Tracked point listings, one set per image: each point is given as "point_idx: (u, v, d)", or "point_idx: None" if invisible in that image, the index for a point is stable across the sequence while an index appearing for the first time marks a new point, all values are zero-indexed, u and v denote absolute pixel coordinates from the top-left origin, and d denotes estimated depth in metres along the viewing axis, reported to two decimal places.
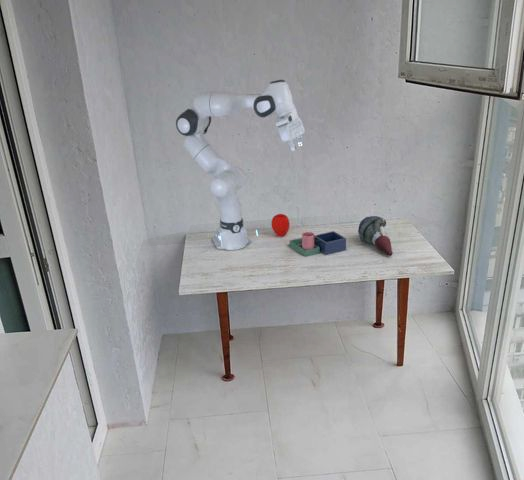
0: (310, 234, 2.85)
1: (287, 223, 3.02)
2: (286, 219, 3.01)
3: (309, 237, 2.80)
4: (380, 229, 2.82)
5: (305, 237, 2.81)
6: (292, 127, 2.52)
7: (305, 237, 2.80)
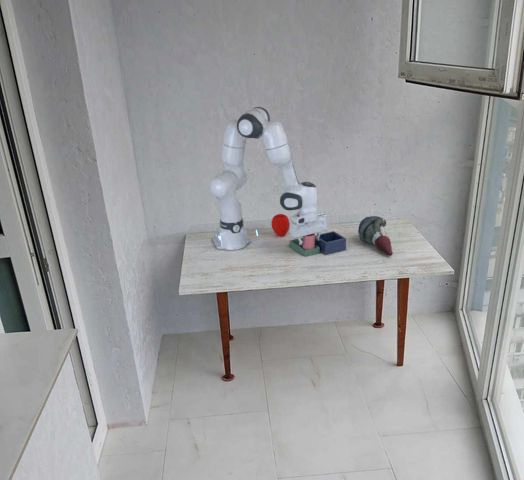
0: (310, 234, 2.85)
1: (287, 223, 3.02)
2: (286, 219, 3.01)
3: (310, 237, 2.80)
4: (380, 229, 2.82)
5: (306, 237, 2.81)
6: (306, 226, 2.77)
7: (305, 237, 2.80)
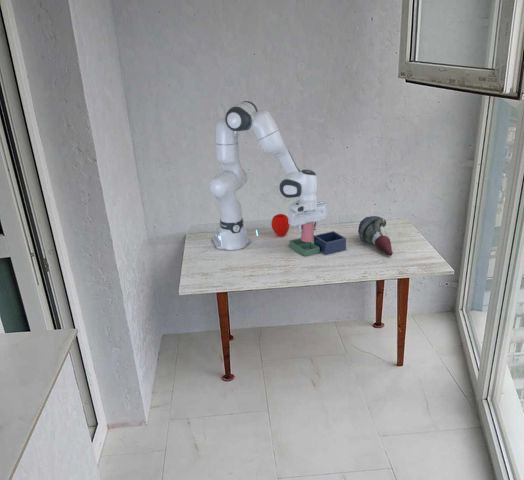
0: None
1: (287, 223, 3.02)
2: (286, 219, 3.01)
3: (308, 224, 2.77)
4: (380, 229, 2.82)
5: (304, 224, 2.77)
6: (305, 214, 2.75)
7: (304, 224, 2.77)
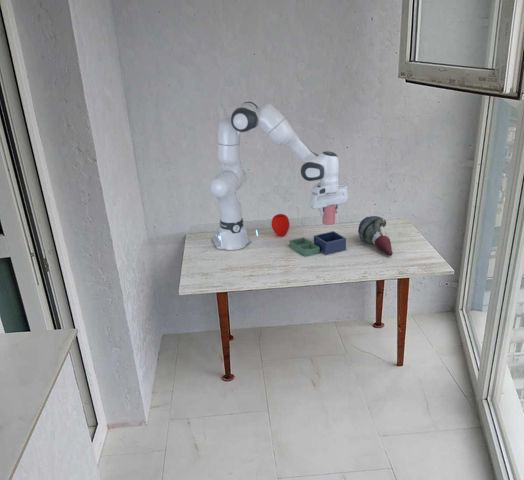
0: None
1: (287, 223, 3.02)
2: (286, 219, 3.01)
3: (330, 207, 2.75)
4: (380, 229, 2.82)
5: (326, 207, 2.76)
6: (326, 197, 2.73)
7: (326, 207, 2.75)
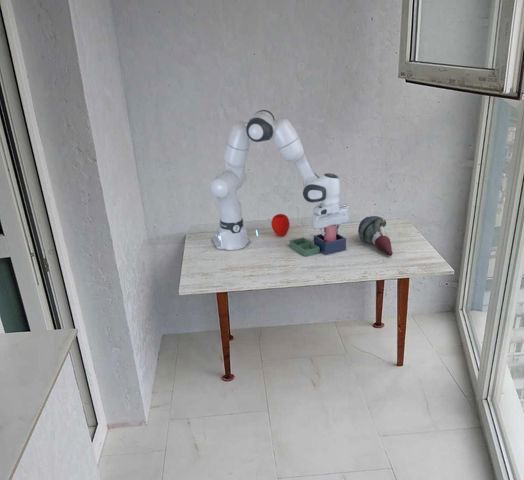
0: None
1: (287, 223, 3.02)
2: (286, 219, 3.01)
3: (331, 227, 2.81)
4: (380, 229, 2.82)
5: (327, 227, 2.81)
6: (328, 217, 2.79)
7: (327, 227, 2.81)
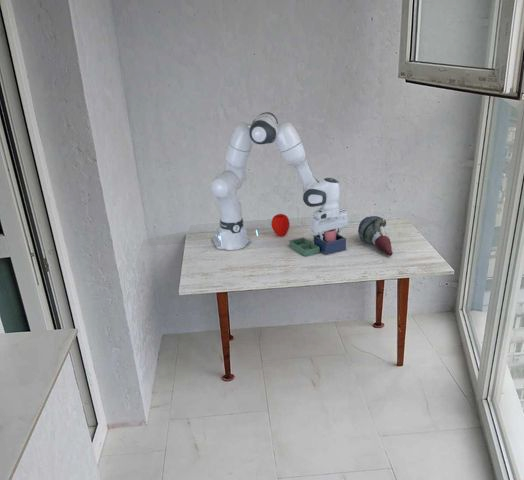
0: None
1: (287, 223, 3.02)
2: (286, 219, 3.01)
3: (331, 232, 2.82)
4: (380, 229, 2.82)
5: (327, 232, 2.83)
6: (327, 221, 2.80)
7: (327, 232, 2.82)
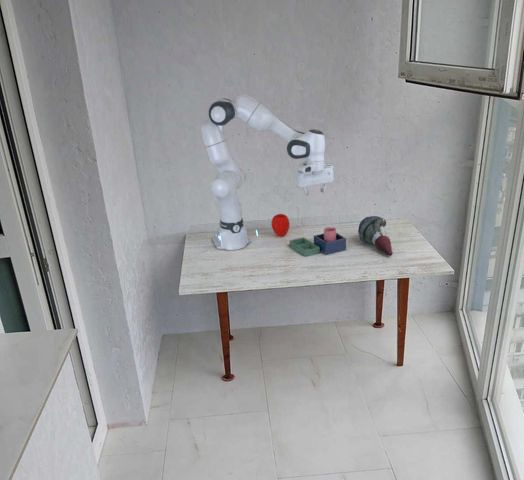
0: (332, 229, 2.87)
1: (287, 223, 3.02)
2: (286, 219, 3.01)
3: (331, 232, 2.82)
4: (380, 229, 2.82)
5: (327, 232, 2.83)
6: (312, 175, 2.73)
7: (327, 232, 2.82)
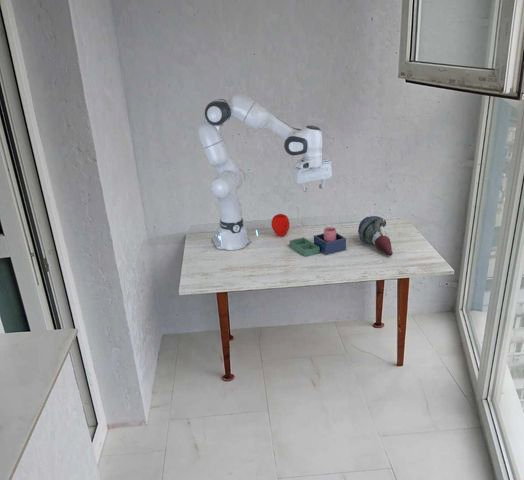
0: (332, 229, 2.87)
1: (287, 223, 3.02)
2: (286, 219, 3.01)
3: (331, 232, 2.82)
4: (380, 229, 2.82)
5: (327, 232, 2.83)
6: (310, 172, 2.73)
7: (327, 232, 2.82)
